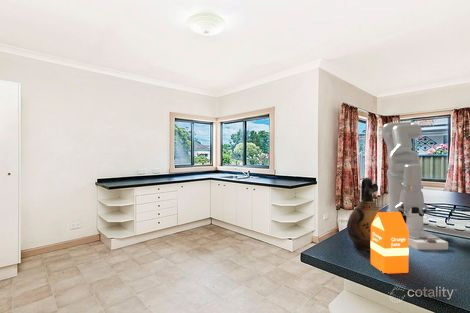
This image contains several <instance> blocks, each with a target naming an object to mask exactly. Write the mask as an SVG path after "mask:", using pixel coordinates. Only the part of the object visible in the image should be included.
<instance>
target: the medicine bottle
mask: <svg viewBox="0 0 470 313" xmlns="http://www.w3.org/2000/svg"><path fill="white" fill-rule="evenodd" d="M405 215H406V223H405V224H406V226H407V228H408V229H421V230H424V217H422V216H420V215H419V208H418V207H412V208H411V209H410V211H407V213H406V214H405Z"/></svg>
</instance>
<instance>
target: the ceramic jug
mask: <svg viewBox="0 0 470 313" xmlns="http://www.w3.org/2000/svg"><path fill="white" fill-rule="evenodd" d="M360 189H361V190H360V191H361V194H360V196H361V197H360V201H359V203H358V204H357V205H356V206H355V207H354V209H353V210H352V211H351V213H350V215H349V218H348V220H347V224H346V231H347V234H348V237H349V238H350V239H351V241H352V242H353V246H354V248H355V249H356V250H361V251H364V252H371V224H372V222H373V220H374V218H375V217H376V215H377V212H381V210H380V208H379V206H377V204H376V202H375V200H374V198H373V193H376V192H378V191H379V186H378V184H377V183H373V180H372V179H371V178H370V177H365V178H362V180H361V187H360Z"/></svg>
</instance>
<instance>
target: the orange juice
mask: <svg viewBox="0 0 470 313" xmlns="http://www.w3.org/2000/svg"><path fill="white" fill-rule="evenodd" d="M408 244H409V230H408V228H407V226H406V224H405V221H404V219H403V217H402V215H401V212H387V211H383V212H382V211H380V212H377V215H376V217H375V218H374V220H373V222H372V224H371V251H370V264H371V266H373V267H375V268H376V269H377V270H379V271H380V272H381V271H382V272H381V273H383V274H384V273H387V274H403V273H405V274H406V273H409V256H410V255H409V254H410V253H409V250H410V248H409V245H408Z"/></svg>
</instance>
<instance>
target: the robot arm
mask: <svg viewBox="0 0 470 313" xmlns="http://www.w3.org/2000/svg"><path fill="white" fill-rule="evenodd" d="M381 132H382V133H381V134H382V138H383V140H384V142H385V145H386V149H387V150H386V152H387V166H388V169H387V171H386V179H387V185H388V190H387V192H388V204H387V205H388V208H387V209H386V212H401V215H402V217H403V219H404V221H405V223H406V215H405V214H406V213H407V211H410V209H411V208H412V207H418V208H419V215H420V216H422V217H423V216H424V215H425V214H426V213H427V211H428V209H429V208H430V207H429V206H428V205H427V204H425V199H424V193H423V191H422V189H424V186H423V185H422V176H423V174H422V171H423V170H422V168H423V167H422V166H421V161H420V155H419V153H418V152H417V151H415V150H412V149H413V142H412V139H415V140H416V139H419V138H421V137H422V133H423V130H422V127H421V125H419V123H416V122H414V121H401V122H399V121H398V122H397V121H396V122H387V123H385V124H383V126H382V129H381ZM423 218H424V217H423Z"/></svg>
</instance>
